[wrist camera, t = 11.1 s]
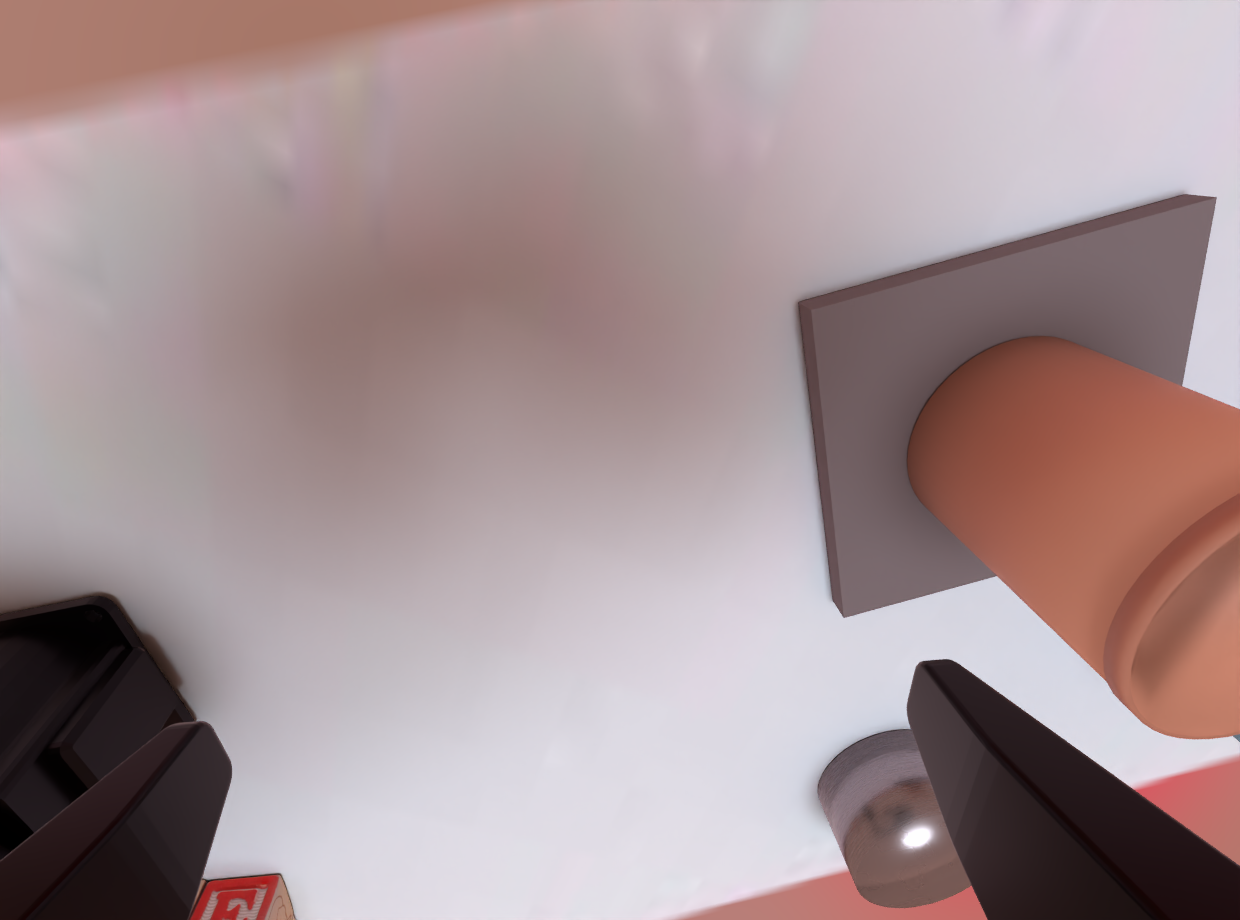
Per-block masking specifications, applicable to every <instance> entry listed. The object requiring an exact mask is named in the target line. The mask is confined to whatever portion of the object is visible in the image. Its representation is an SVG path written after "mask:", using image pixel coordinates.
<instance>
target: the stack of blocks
mask: <svg viewBox="0 0 1240 920" xmlns="http://www.w3.org/2000/svg"><path fill="white" fill-rule="evenodd" d="M188 920H295V918H294V916H293V909H292V906H291V903H290V899H289V897H288V894H287V891H286V887H285V885H284V882H283V880H282V878H281V876H280V875H269V876H259V877H248V878H237V879H227V880H215V881H210V882H208V883H207V882H206V881H205V880H201V884H200V887H199V890H198V893H197V896H196V899H195V902H194V905H193V908H192V911H191V914H190V917H189V919H188Z"/></svg>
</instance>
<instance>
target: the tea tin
mask: <svg viewBox="0 0 1240 920" xmlns="http://www.w3.org/2000/svg"><path fill="white" fill-rule="evenodd" d="M818 797H819V800H820V803H821V805H822V808H823V810H824V812H825V815H826V817H827V819H828V822H829V824H830V826H831V829H832V831H833V833H834V836H835V838H836V840H837V843H838V845H839V848H840V850H841V852H842V855H843V857H844V859H845V862H846V864H847V866H848V869H849V871H850V873H851V875H852V878H853V880H854V883H855V885H856V887H857V890H858V891H859V893H860V894H861V895H862V896H863V897H864V898H865V899H866V900H868V901H869V902H871V903H874V904H876V905H880V906H884V907H891V908H909V907H916V906H922V905H926V904H931V903H934V902H937V901H940V900H943V899H946V898H948V897H951V896H953V895H955V894H957V893H959V892H961V891H963V890H965V889H966V888H968V887H970V886H971V883H970V881H969V879H968V877H967V875H966V872H965V870H964V868H963V866H962V864H961V862H960V859H959V857H958V855H957V853H956V850H955V848H954V846H953V843H952V841H951V838H950V836H949V833H948V830H947V828H946V825H945V822H944V820H943V817H942V814H941V811H940V808H939V806H938V803H937V800H936V797H935V794H934V792H933V789H932V786H931V783H930V780H929V778H928V775H927V772H926V769H925V766H924V764H923V761H922V758H921V755H920V752H919V750H918V747H917V744H916V741H915V738H914V735H913V733H912V730H897V731H890V732H885V733H881V734H877V735H874V736H871V737H868V738H866V739H864V740H862V741H859V742H858V743H856V744H854V745H852V746H851V747H849V748H848V749H846V750H845V751H843V752H842V753H841V754H839V755H838V756H837V757H836V758H835V759H834V760H833V761H832V762H831V763H830V764H829V766H828V767H827V768H826V770H825V771H824V773H823V775H822V777H821V779H820V782H819V786H818Z"/></svg>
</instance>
